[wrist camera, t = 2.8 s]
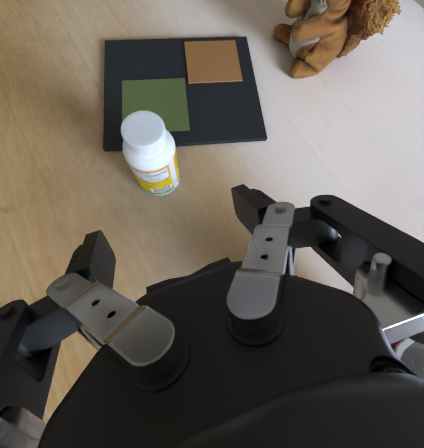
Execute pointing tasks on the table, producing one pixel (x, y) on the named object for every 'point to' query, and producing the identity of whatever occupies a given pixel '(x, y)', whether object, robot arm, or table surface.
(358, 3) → the stuffed squirrel
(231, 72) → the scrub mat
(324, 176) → the table surface
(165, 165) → the supplement bottle
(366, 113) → the table surface
